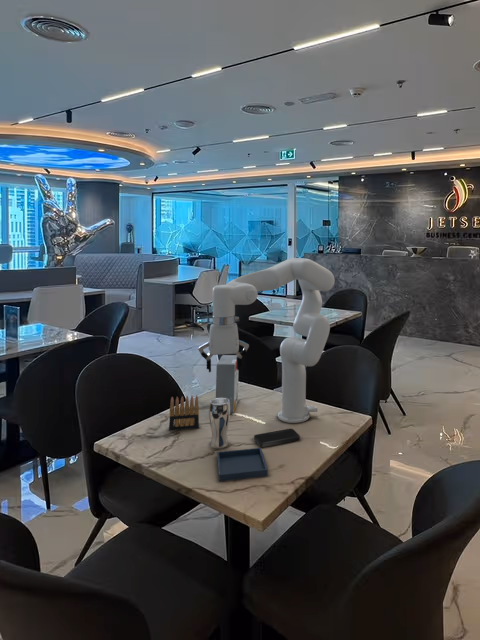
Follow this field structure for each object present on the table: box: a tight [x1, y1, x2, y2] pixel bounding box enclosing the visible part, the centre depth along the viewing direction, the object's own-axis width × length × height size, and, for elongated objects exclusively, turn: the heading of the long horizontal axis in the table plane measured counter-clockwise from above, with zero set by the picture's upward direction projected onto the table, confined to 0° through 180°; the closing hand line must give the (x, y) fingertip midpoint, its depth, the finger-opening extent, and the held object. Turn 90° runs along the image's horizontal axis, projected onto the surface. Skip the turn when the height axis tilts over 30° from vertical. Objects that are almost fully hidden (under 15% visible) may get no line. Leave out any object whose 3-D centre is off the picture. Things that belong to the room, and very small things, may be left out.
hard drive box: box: [215, 354, 239, 414], centre depth 184 cm, size 16×8×20 cm, turn 2°
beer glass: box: [208, 397, 231, 450], centre depth 150 cm, size 7×7×15 cm
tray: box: [216, 447, 269, 482], centre depth 136 cm, size 14×14×2 cm
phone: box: [253, 428, 301, 448], centre depth 155 cm, size 8×1×15 cm
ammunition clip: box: [168, 395, 200, 431], centre depth 162 cm, size 11×2×12 cm, turn 103°
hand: (223, 370), depth 152 cm, fingers open, 9 cm apart
